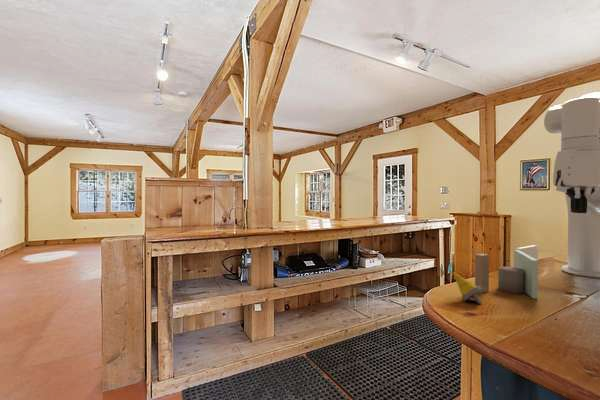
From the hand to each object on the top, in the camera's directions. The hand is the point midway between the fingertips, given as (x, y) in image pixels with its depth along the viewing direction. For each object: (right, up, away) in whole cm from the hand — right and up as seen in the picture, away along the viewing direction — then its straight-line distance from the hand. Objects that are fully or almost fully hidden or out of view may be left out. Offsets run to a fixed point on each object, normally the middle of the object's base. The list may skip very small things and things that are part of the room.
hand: (578, 212), depth 82 cm
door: (-12, -22, +4) cm, 25 cm away
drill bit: (-33, -23, -4) cm, 40 cm away
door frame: (-13, -22, +9) cm, 27 cm away
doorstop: (-16, -22, +4) cm, 28 cm away
